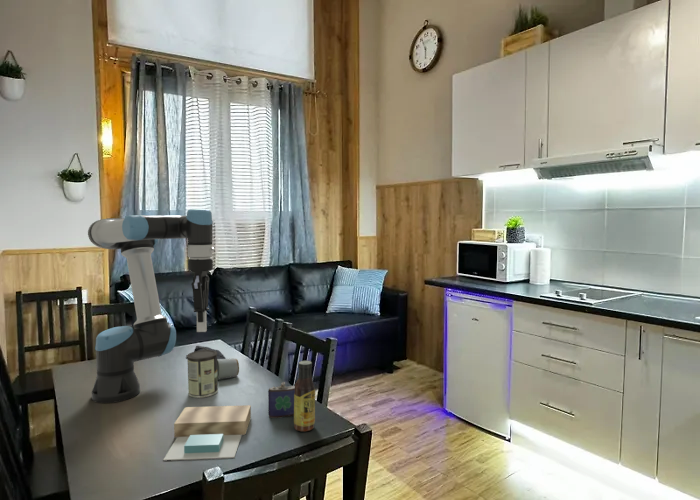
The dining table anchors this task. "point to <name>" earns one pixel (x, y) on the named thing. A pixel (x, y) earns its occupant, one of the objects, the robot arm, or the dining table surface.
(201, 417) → the tan flat rectangular slab
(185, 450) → the teal rectangular block
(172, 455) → the mat
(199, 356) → the coffee can
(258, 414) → the dining table surface
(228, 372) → the ceramic mug
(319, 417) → the dining table surface
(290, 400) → the flask
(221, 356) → the dark slate chunk
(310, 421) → the sauce bottle
